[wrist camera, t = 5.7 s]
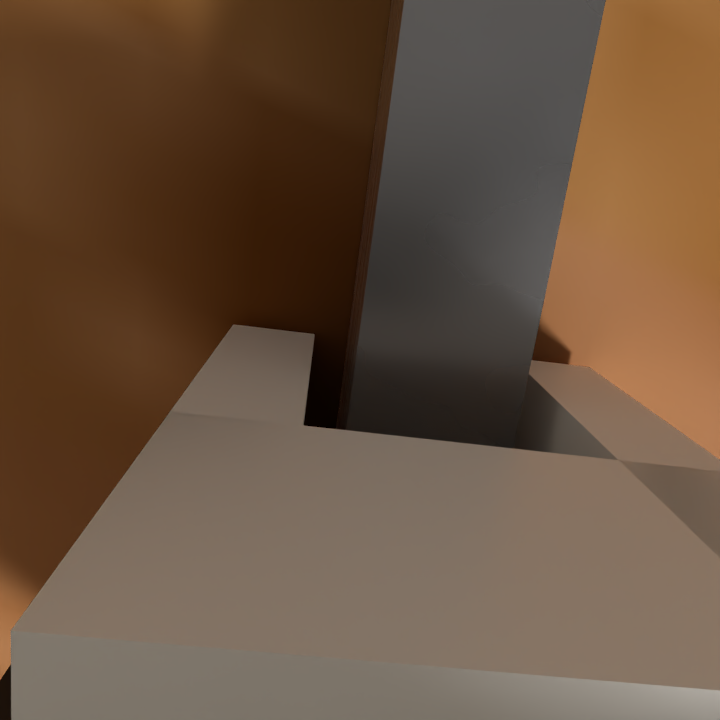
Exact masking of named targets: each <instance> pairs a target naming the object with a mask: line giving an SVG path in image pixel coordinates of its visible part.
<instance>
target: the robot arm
mask: <svg viewBox="0 0 720 720" xmlns="http://www.w3.org/2000/svg"><path fill="white" fill-rule="evenodd" d="M0 720H11V665H10V667H9V668H8V670H7V671H6V673H5V674H4V675H3V677H2V678H1V680H0Z"/></svg>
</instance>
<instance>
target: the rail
mask: <svg viewBox="0 0 720 720" xmlns="http://www.w3.org/2000/svg"><path fill="white" fill-rule="evenodd" d="M605 1H606V0H392V1H391V9H390V17H389V24H388V32H387V40H386V47H385V55H384V63H383V70H382V78H381V86H380V93H379V101H378V109H377V117H376V124H375V132H374V140H373V147H372V155H371V163H370V170H369V178H368V186H367V193H366V201H365V209H364V216H363V224H362V232H361V239H360V247H359V255H358V262H357V270H356V278H355V286H354V293H353V301H352V309H351V316H350V324H349V332H348V339H347V347H346V355H345V362H344V370H343V378H342V385H341V393H340V401H339V408H338V416H337V424H336V429H339V430H349V431H358V432H367V433H376V434H385V435H394V436H403V437H412V438H422V439H431V440H440V441H449V442H458V443H467V444H476V445H485V446H495V447H504V448H514V443H515V438H516V434H517V429H518V424H519V419H520V414H521V409H522V404H523V400H524V395H525V390H526V385H527V380H528V375H529V370H530V366H531V361H532V356H533V351H534V346H535V341H536V336H537V331H538V327H539V322H540V317H541V312H542V307H543V302H544V297H545V293H546V288H547V283H548V278H549V273H550V268H551V263H552V259H553V254H554V249H555V244H556V239H557V234H558V229H559V225H560V220H561V215H562V210H563V205H564V200H565V195H566V190H567V186H568V181H569V176H570V171H571V166H572V161H573V156H574V152H575V147H576V142H577V137H578V132H579V127H580V122H581V118H582V113H583V108H584V103H585V98H586V93H587V88H588V84H589V79H590V74H591V69H592V64H593V59H594V54H595V49H596V45H597V40H598V35H599V30H600V25H601V20H602V15H603V11H604V6H605Z"/></svg>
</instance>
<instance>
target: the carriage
mask: <svg viewBox="0 0 720 720" xmlns="http://www.w3.org/2000/svg"><path fill="white" fill-rule="evenodd" d="M314 337H315V334H310V333H301V332H293V331H285V330H276V329H268V328H260V327H251V326H243V325H235V324H233V326H232V327H231V328H230V330H229V331H228V332H227V334H226V335H225V337H224V338H223V339H222V341H221V342H220V343H219V345H218V346H217V348H216V349H215V350H214V352H213V353H212V354H211V356H210V357H209V359H208V360H207V361H206V363H205V364H204V365H203V367H202V368H201V370H200V371H199V372H198V374H197V375H196V376H195V378H194V379H193V381H192V382H191V383H190V385H189V386H188V387H187V389H186V390H185V392H184V393H183V394H182V396H181V397H180V399H179V400H178V401H177V403H176V404H175V405H174V407H173V408H172V410H171V411H170V412H169V414H168V415H167V416H166V418H165V419H164V421H163V422H162V423H161V425H160V426H159V427H158V429H157V430H156V432H155V433H154V434H153V436H152V437H151V438H150V440H149V441H148V443H147V444H146V445H145V447H144V448H143V449H142V451H141V452H140V454H139V455H138V456H137V458H136V459H135V460H134V462H133V463H132V465H131V466H130V467H129V469H128V470H127V471H126V473H125V474H124V476H123V477H122V478H121V480H120V481H119V482H118V484H117V485H116V487H115V488H114V489H113V491H112V492H111V494H110V495H109V496H108V498H107V499H106V500H105V502H104V503H103V505H102V506H101V507H100V509H99V510H98V511H97V513H96V514H95V516H94V517H93V518H92V520H91V521H90V522H89V524H88V525H87V527H86V528H85V529H84V531H83V532H82V533H81V535H80V536H79V538H78V539H77V540H76V542H75V543H74V544H73V546H72V547H71V549H70V550H69V551H68V553H67V554H66V555H65V557H64V558H63V560H62V561H61V562H60V564H59V565H58V566H57V568H56V569H55V571H54V572H53V573H52V575H51V576H50V577H49V579H48V580H47V582H46V583H45V584H44V586H43V587H42V589H41V590H40V591H39V593H38V594H37V595H36V597H35V598H34V600H33V601H32V602H31V604H30V605H29V606H28V608H27V609H26V611H25V612H24V613H23V615H22V616H21V617H20V619H19V620H18V622H17V623H16V624H15V626H14V627H13V628H12V630H11V720H720V460H719V459H718V458H716V457H715V456H714V455H712V454H711V453H709V452H708V451H707V450H705V449H704V448H702V447H701V446H700V445H698V444H697V443H695V442H694V441H693V440H691V439H690V438H688V437H687V436H685V435H684V434H683V433H681V432H680V431H678V430H677V429H676V428H674V427H673V426H671V425H670V424H669V423H667V422H666V421H664V420H663V419H662V418H660V417H659V416H657V415H656V414H654V413H653V412H652V411H650V410H649V409H647V408H646V407H645V406H643V405H642V404H640V403H639V402H638V401H636V400H635V399H633V398H632V397H631V396H629V395H628V394H626V393H625V392H623V391H622V390H621V389H619V388H618V387H616V386H615V385H614V384H612V383H611V382H609V381H608V380H607V379H605V378H604V377H602V376H601V375H600V374H598V373H597V372H595V371H594V370H592V369H591V368H590V367H585V366H577V365H569V364H560V363H552V362H544V361H535V360H532V361H531V366H530V370H529V375H528V380H527V385H526V390H525V395H524V400H523V404H522V409H521V414H520V419H519V424H518V429H517V434H516V438H515V443H514V448H504V447H495V446H485V445H476V444H467V443H458V442H449V441H440V440H431V439H422V438H412V437H403V436H394V435H385V434H376V433H367V432H358V431H349V430H339V429H330V428H321V427H312V426H304V422H305V414H306V405H307V397H308V388H309V380H310V371H311V362H312V354H313V345H314Z"/></svg>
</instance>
